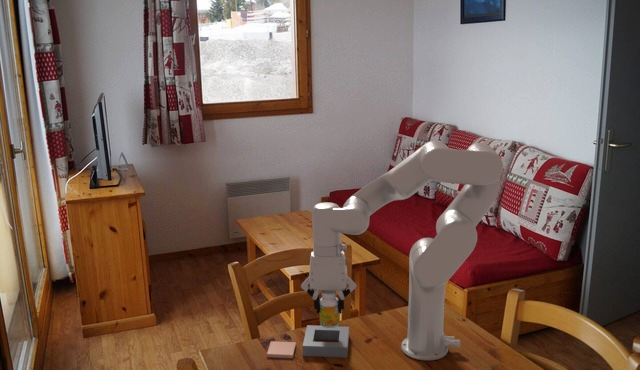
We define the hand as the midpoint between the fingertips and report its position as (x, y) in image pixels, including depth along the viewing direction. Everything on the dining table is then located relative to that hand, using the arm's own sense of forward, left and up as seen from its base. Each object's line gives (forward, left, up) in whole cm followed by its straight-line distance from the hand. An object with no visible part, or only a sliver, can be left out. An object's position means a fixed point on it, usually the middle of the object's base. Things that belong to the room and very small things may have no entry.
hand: (329, 310), depth 177 cm
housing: (+1, 0, -11) cm, 11 cm away
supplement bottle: (0, 0, -4) cm, 4 cm away
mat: (+13, +4, -11) cm, 17 cm away
